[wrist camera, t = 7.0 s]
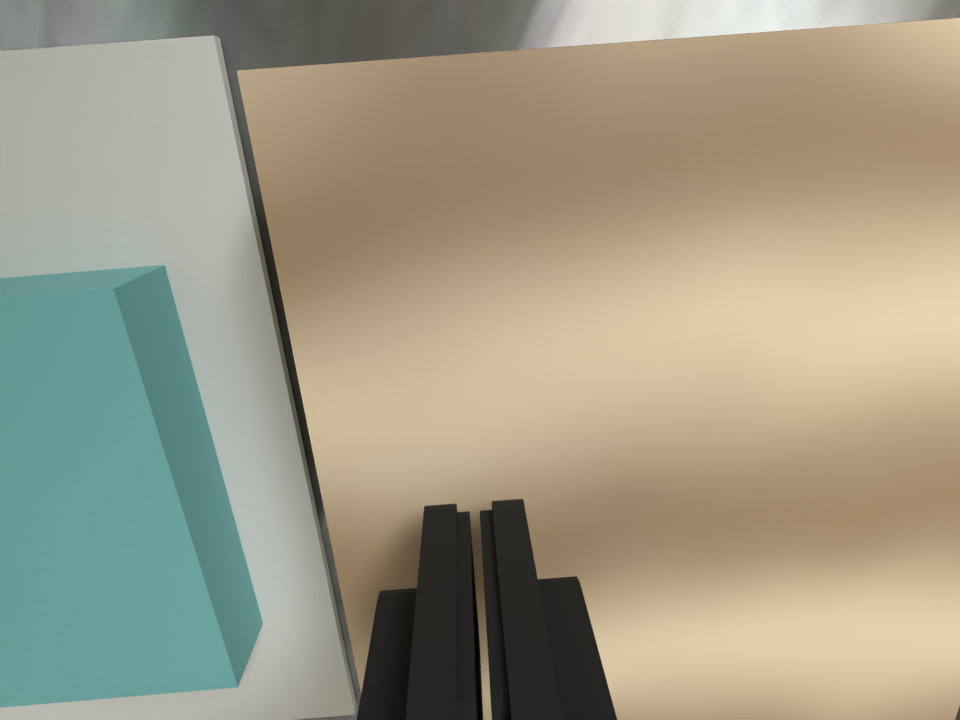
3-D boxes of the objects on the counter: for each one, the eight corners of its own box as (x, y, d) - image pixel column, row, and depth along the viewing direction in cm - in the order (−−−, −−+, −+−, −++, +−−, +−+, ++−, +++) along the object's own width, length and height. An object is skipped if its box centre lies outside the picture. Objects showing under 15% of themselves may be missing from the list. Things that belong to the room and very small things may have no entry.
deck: (307, 89, 12) (236, 70, 8) (956, 41, 12) (1189, 0, 8) (401, 677, 18) (387, 825, 14) (834, 642, 18) (935, 779, 14)
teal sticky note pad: (113, 288, 11) (164, 265, 12) (-275, 320, 11) (-166, 291, 12) (237, 687, 14) (263, 622, 16) (-50, 711, 14) (8, 644, 16)
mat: (-360, 79, 11) (-380, 78, 11) (219, 38, 11) (213, 35, 11) (-7, 735, 18) (-14, 745, 17) (356, 705, 18) (355, 715, 18)
